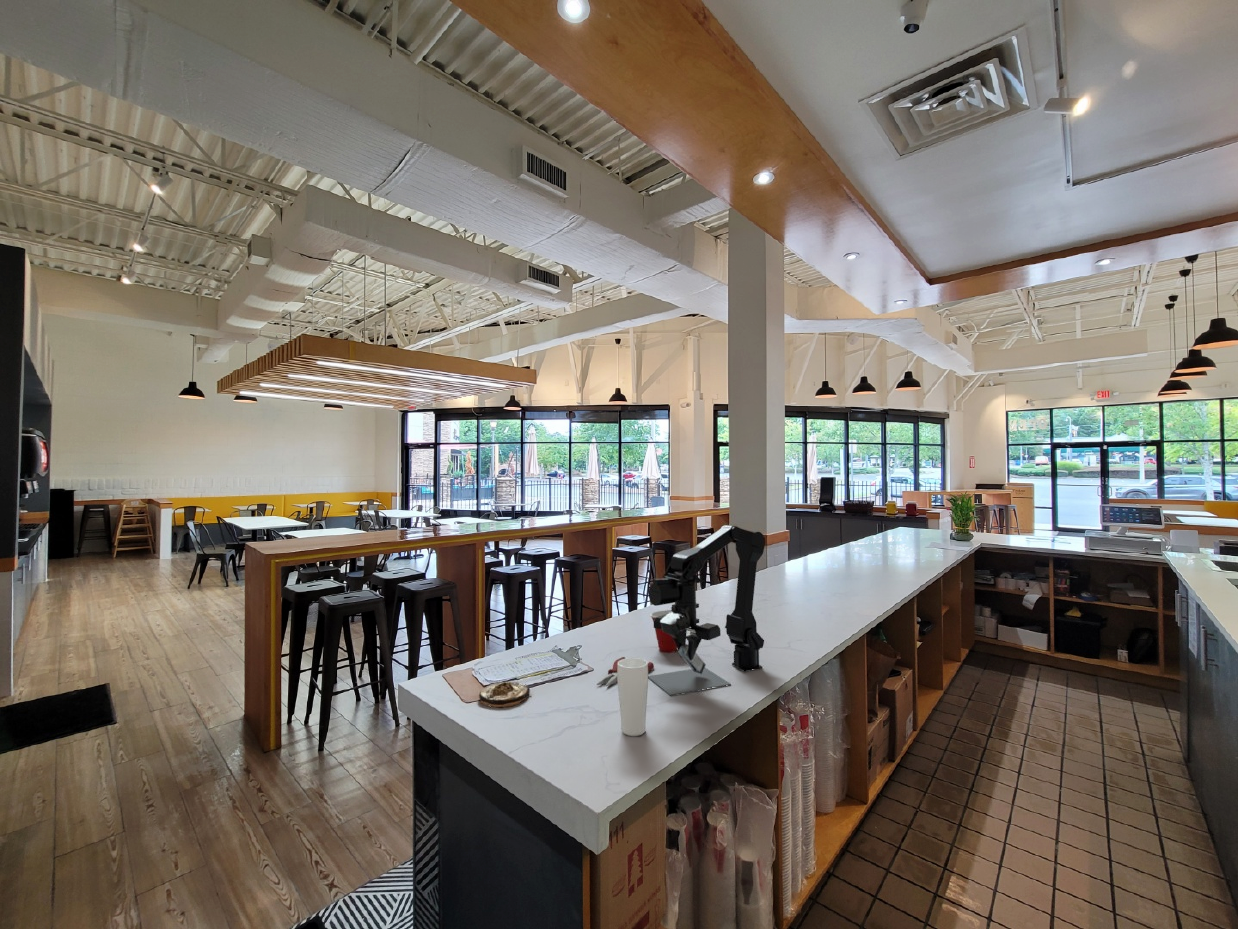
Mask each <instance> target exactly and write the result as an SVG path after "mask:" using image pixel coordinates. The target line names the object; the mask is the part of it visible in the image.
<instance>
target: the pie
mask: <svg viewBox="0 0 1238 929" xmlns="http://www.w3.org/2000/svg"><path fill="white" fill-rule="evenodd" d="M530 692H531V689H530V687H529V685H527V684H520V682H518V681H517V682H516V681H503V682H500V680H499V682H498V681H497V682H495V683H491V684H489V685H487V686H485V687H483V689H482V690H481V691H480V692H479V694H478V697H479V700H480V702H481V703H482V704H483V705H484V704H485V705H484V706H486V705H490V706H491V707H496V708H497V709H504V707H505V708H510V706H511V707H515V706H517V705H519V704H522V703H524V702H525V701H526V699H527V698H529V697H530V698H532V695H530ZM514 705H515V706H514ZM491 707H490V708H491ZM496 708H495V709H496Z"/></svg>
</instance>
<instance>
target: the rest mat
mask: <svg viewBox="0 0 1238 929" xmlns="http://www.w3.org/2000/svg"><path fill="white" fill-rule="evenodd" d="M648 680H650V681H651V682H652V683H654V685H656V686H657V687H659V689H661V690H662V691H664V692H665V693H666V694H667V696H669V697H672V696H673V695H674V696H678V695H677V694H680V695H683V694H682V693H685V694H690V692H691V693H694V691H696V692H699V691H698V690H702V689H707V688H712V687H719V688H723V687H722V686H724V687H727V686H726V685H730V686H732V684H731V683H730V682H729V681H727V680H726V679H724V678H722V677H721V676H720V675H718V674H716V673H715V672H713V671H711V670H710V669H709V668H706V667H705V668H704V670H703V672H702V674H700V673H697V672H694V671H693V670H692V669H691V668H690V669H684V670H677V671H672V672H664V673H658V674H653V675H648ZM702 691H703V690H702ZM674 696H673V697H674Z"/></svg>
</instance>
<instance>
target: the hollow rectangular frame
mask: <svg viewBox="0 0 1238 929" xmlns="http://www.w3.org/2000/svg"><path fill="white" fill-rule="evenodd" d="M677 651H678V650H677ZM677 653H678V654H679V656H680V655H681V657H682V658H681V657H680V658H681V659H683V660H684V661H685V663H686V664H687V665H688V667H690V669H692V670H693V671H694V672H697V673H700V674H702V672H703V670H704V668H706V663H705V662H704V661H703V660H702V658H701V657H700V656H699V655H698V653H697V652H696V653H695V655H694V657H693V659H692V660H689V652H688V643H686V644H683V643H682V645H681V647H680V649H679V651H678V652H677Z"/></svg>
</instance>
